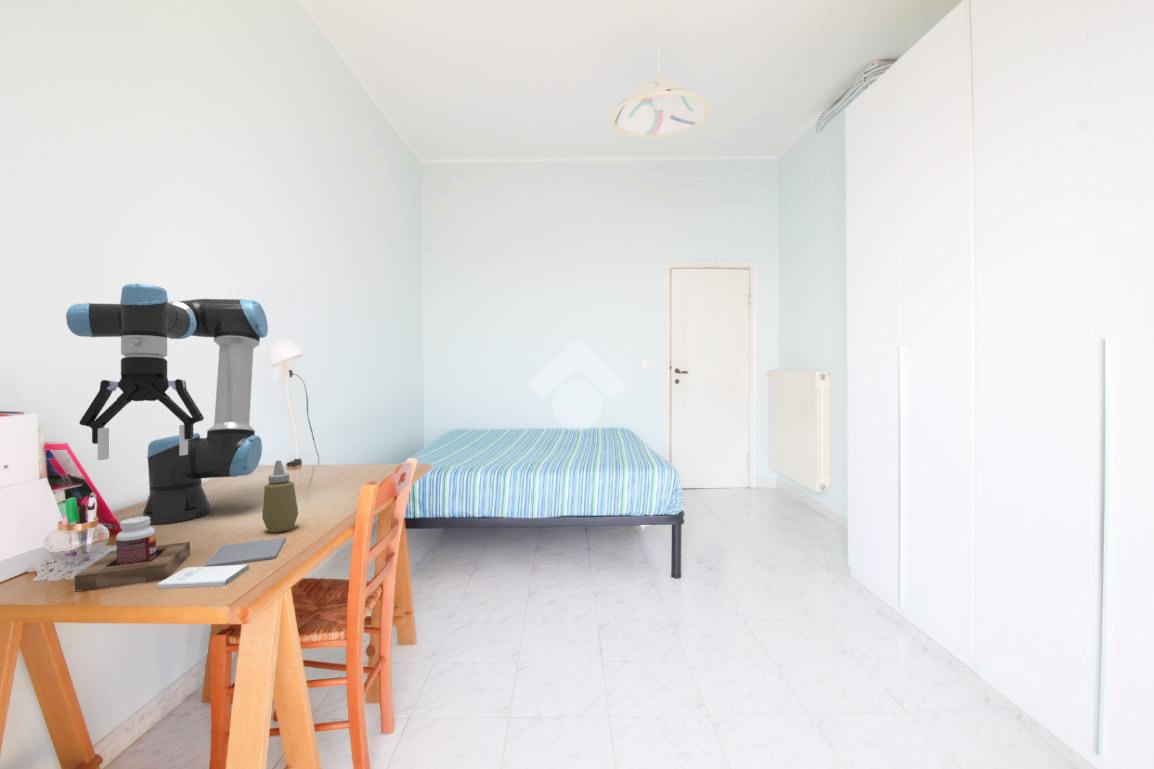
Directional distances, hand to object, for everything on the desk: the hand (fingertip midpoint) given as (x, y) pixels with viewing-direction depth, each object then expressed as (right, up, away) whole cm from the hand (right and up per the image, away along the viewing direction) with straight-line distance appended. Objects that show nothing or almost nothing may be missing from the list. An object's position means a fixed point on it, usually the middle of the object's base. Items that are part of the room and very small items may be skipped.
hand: (144, 457), depth 106 cm
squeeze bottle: (+15, -23, +24) cm, 36 cm away
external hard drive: (+17, -24, -5) cm, 30 cm away
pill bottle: (0, -24, -2) cm, 24 cm away
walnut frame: (0, -24, -2) cm, 24 cm away
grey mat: (+17, -23, +8) cm, 29 cm away
